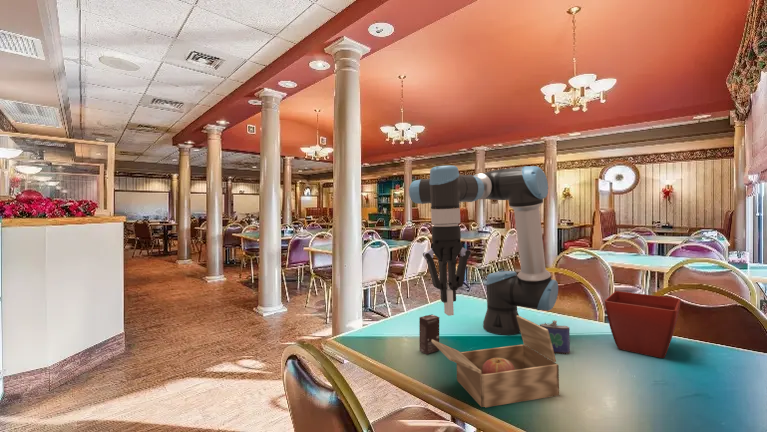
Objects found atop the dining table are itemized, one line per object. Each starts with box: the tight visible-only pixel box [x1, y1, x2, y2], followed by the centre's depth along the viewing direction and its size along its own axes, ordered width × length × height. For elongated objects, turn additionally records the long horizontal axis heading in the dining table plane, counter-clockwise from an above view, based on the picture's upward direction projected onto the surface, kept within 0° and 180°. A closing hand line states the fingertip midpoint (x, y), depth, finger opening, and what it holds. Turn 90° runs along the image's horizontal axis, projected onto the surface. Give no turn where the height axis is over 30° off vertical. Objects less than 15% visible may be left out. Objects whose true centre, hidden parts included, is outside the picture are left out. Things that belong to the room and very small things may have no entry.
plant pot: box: [604, 290, 682, 359], centre depth 122 cm, size 19×19×17 cm
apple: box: [482, 358, 515, 374], centre depth 98 cm, size 9×9×8 cm
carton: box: [455, 343, 560, 408], centre depth 99 cm, size 22×15×8 cm
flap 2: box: [516, 314, 557, 363], centre depth 101 cm, size 1×13×9 cm, turn 13°
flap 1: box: [431, 339, 481, 373], centre depth 95 cm, size 1×13×9 cm
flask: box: [539, 320, 571, 355], centre depth 121 cm, size 9×3×11 cm, turn 68°
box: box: [418, 314, 440, 355], centre depth 125 cm, size 6×4×12 cm
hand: (449, 313), depth 95 cm, fingers closed
